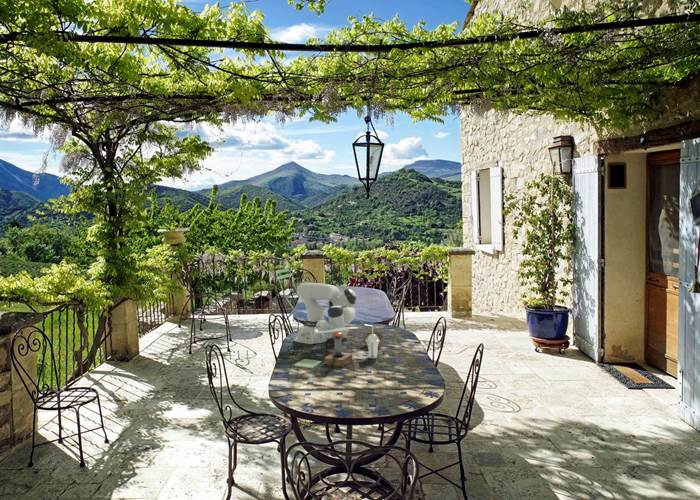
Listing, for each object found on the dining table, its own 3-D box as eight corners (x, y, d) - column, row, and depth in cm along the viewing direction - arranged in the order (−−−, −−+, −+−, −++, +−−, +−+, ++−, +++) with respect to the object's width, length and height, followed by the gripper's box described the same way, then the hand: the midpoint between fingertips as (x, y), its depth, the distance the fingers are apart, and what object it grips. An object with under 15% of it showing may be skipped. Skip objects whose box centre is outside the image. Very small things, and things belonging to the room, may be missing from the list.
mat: (293, 366, 300) (293, 364, 300) (304, 360, 310) (304, 358, 310) (311, 368, 294) (311, 367, 294) (322, 362, 305) (322, 361, 305)
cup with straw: (376, 360, 307) (375, 326, 305) (362, 358, 311) (361, 324, 309) (382, 356, 314) (381, 323, 312) (369, 354, 319) (368, 321, 317)
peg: (331, 363, 302) (330, 334, 301) (336, 360, 308) (335, 331, 306) (341, 365, 300) (340, 335, 298) (346, 361, 305) (345, 332, 304)
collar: (324, 364, 301) (324, 357, 301) (334, 358, 312) (334, 352, 311) (343, 367, 296) (342, 360, 295) (352, 360, 306) (352, 354, 306)
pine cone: (383, 343, 341) (383, 328, 340) (384, 347, 331) (384, 332, 330) (349, 344, 341) (349, 329, 340) (349, 348, 332) (348, 333, 331)
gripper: (343, 334, 331) (350, 339, 318) (311, 337, 324) (317, 343, 311) (343, 324, 330) (350, 329, 317) (311, 327, 324) (317, 332, 311)
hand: (333, 336), depth 314 cm, fingers open, 8 cm apart
